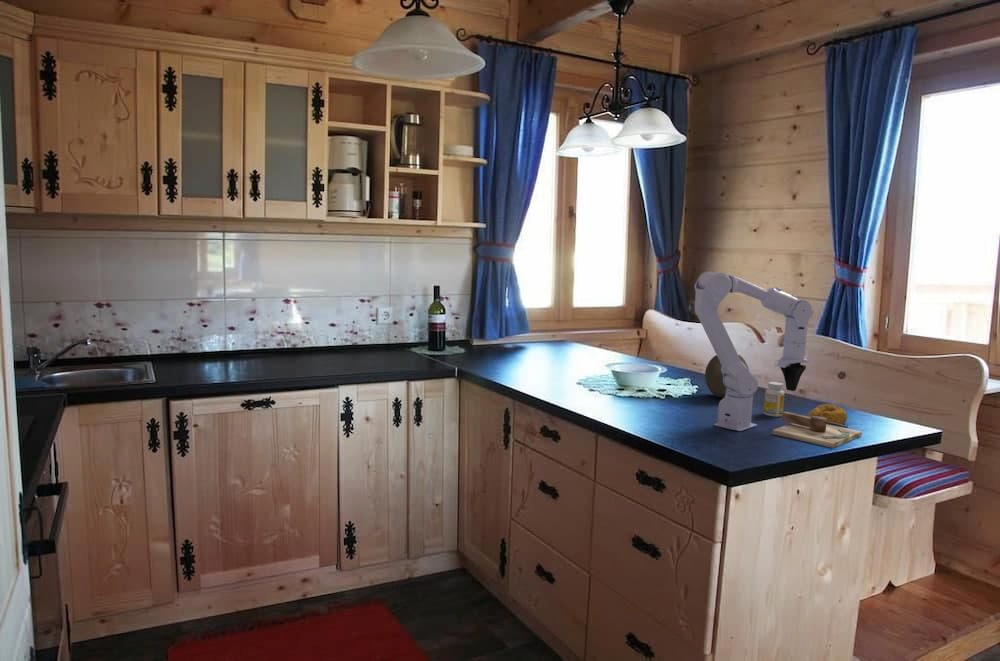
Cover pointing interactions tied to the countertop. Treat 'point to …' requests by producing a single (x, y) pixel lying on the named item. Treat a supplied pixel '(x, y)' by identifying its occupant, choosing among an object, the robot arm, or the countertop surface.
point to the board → (818, 434)
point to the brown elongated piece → (809, 421)
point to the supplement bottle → (774, 399)
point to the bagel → (830, 413)
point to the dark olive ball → (717, 376)
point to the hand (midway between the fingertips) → (791, 390)
